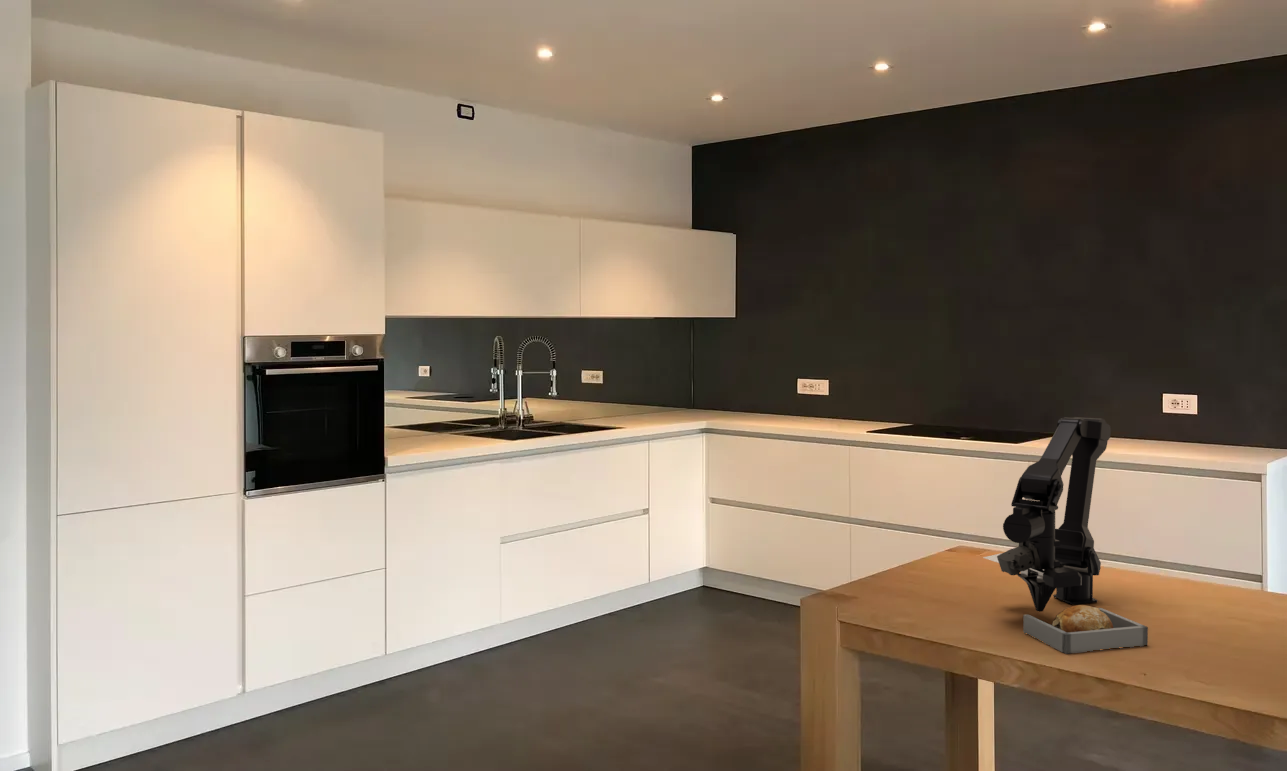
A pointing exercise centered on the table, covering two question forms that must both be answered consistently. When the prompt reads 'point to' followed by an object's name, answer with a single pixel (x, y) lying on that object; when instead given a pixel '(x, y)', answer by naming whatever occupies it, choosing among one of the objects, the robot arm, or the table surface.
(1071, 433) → the robot arm
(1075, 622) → the bread roll
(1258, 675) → the table surface
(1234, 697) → the table surface
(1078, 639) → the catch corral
